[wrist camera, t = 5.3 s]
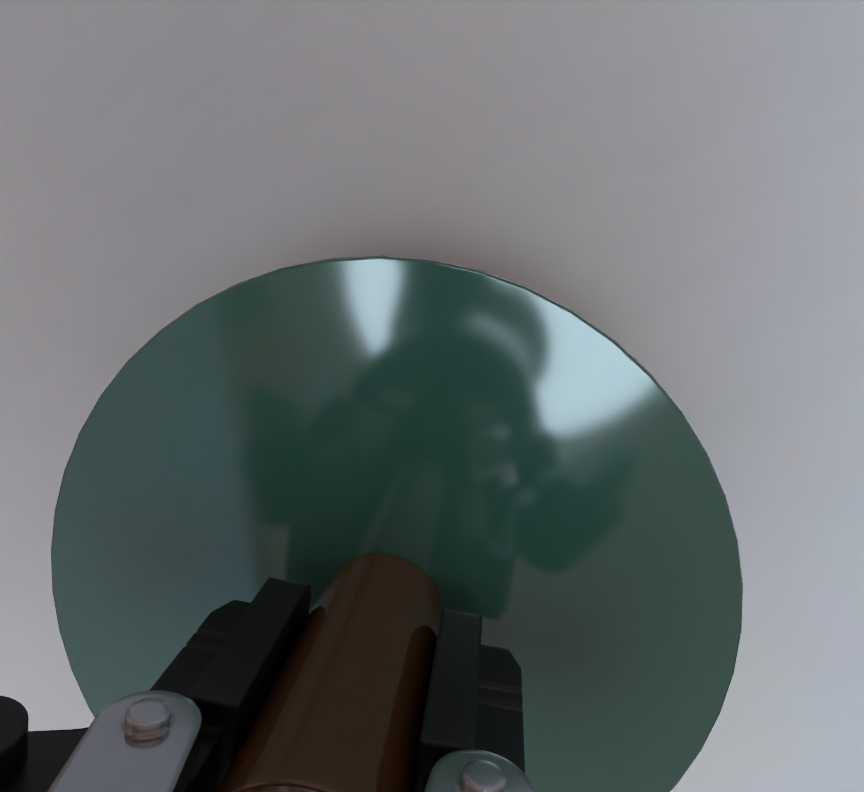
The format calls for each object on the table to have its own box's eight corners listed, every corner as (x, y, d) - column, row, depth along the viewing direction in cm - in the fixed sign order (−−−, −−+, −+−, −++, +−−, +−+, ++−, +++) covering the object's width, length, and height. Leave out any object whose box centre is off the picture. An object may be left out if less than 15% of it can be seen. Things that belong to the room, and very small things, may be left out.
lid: (-28, 613, 16) (-422, 890, 9) (320, 102, 13) (119, -47, 6) (444, 960, 17) (402, 1456, 10) (875, 550, 14) (1239, 854, 7)
